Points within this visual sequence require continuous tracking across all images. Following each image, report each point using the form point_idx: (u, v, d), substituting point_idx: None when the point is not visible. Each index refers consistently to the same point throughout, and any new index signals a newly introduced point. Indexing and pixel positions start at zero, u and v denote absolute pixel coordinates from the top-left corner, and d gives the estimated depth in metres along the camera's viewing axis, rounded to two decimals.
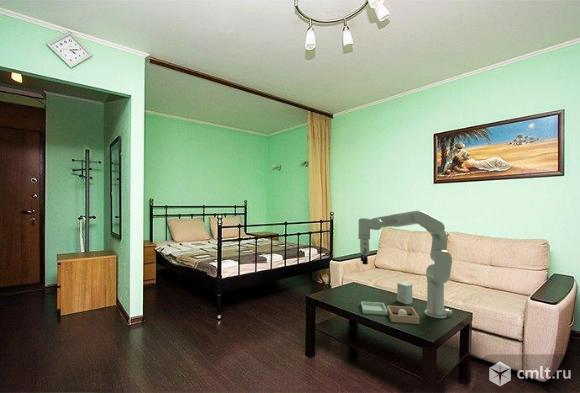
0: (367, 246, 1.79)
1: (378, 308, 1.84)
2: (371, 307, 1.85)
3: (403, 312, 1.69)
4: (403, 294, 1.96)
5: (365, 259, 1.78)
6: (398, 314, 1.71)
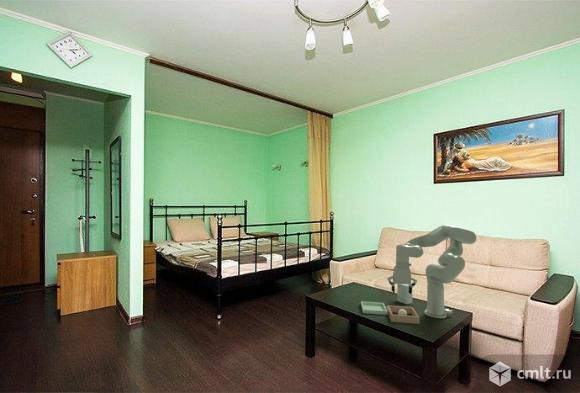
0: None
1: (378, 308, 1.84)
2: (371, 307, 1.85)
3: (403, 312, 1.69)
4: (403, 294, 1.96)
5: None
6: (398, 314, 1.71)
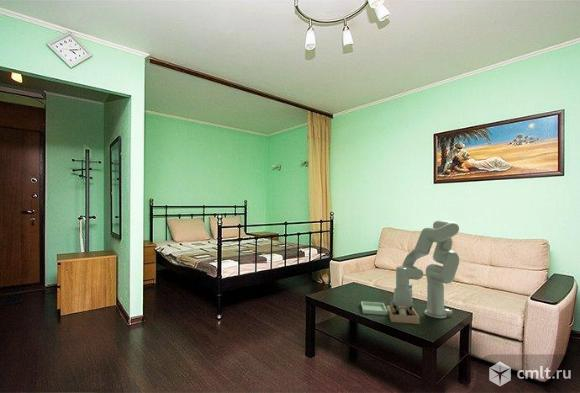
0: None
1: (378, 308, 1.84)
2: (371, 307, 1.85)
3: (403, 312, 1.69)
4: None
5: None
6: None
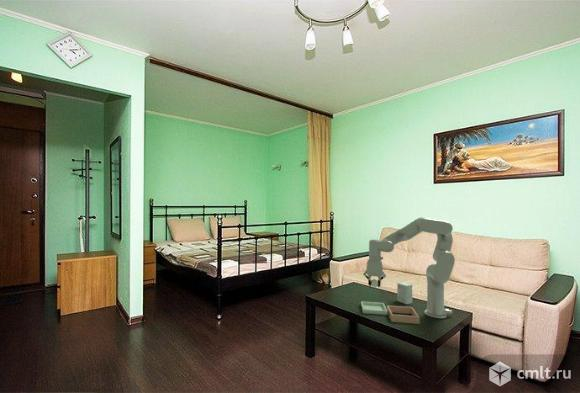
0: None
1: (378, 308, 1.84)
2: (371, 307, 1.85)
3: (375, 282, 1.81)
4: (403, 294, 1.96)
5: None
6: None
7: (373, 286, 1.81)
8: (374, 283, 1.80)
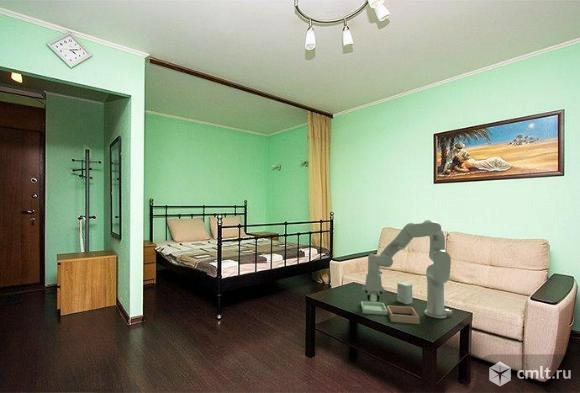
0: None
1: (378, 308, 1.84)
2: (371, 307, 1.85)
3: (374, 296, 1.81)
4: (403, 294, 1.96)
5: None
6: None
7: None
8: (373, 298, 1.81)
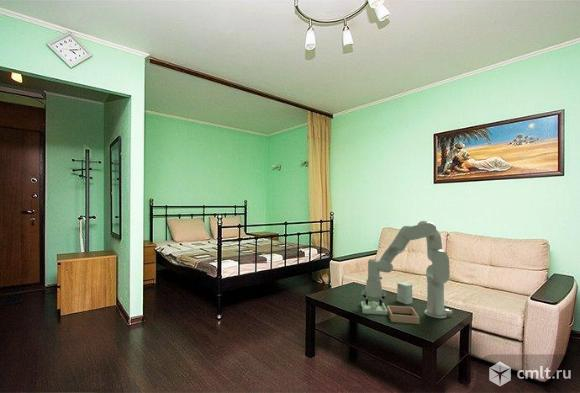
0: None
1: (378, 308, 1.84)
2: None
3: (374, 304, 1.81)
4: (403, 294, 1.96)
5: (381, 300, 1.82)
6: (370, 306, 1.83)
7: (372, 308, 1.81)
8: (373, 305, 1.80)
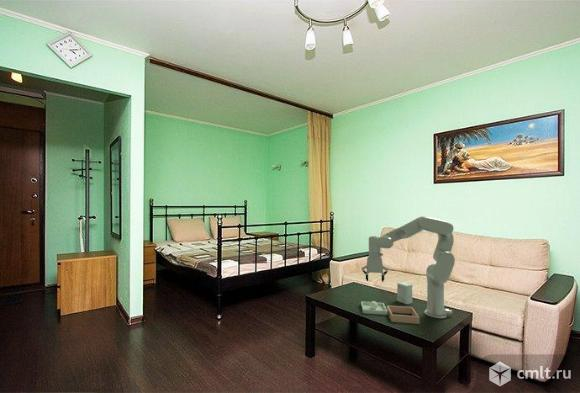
0: None
1: (378, 308, 1.84)
2: None
3: (374, 304, 1.81)
4: (403, 294, 1.96)
5: None
6: (370, 306, 1.83)
7: (372, 308, 1.81)
8: (373, 305, 1.80)
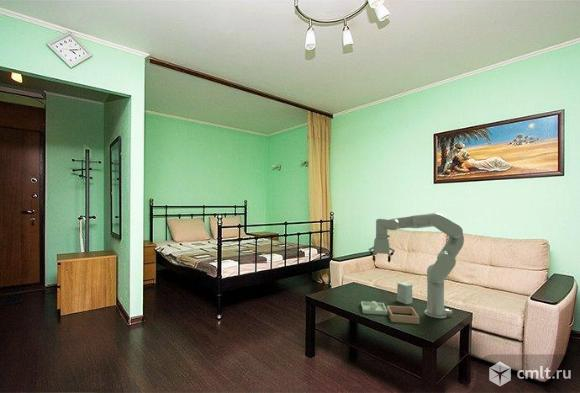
0: None
1: (378, 308, 1.84)
2: None
3: (374, 304, 1.81)
4: (403, 294, 1.96)
5: None
6: None
7: (372, 308, 1.81)
8: (373, 305, 1.80)
